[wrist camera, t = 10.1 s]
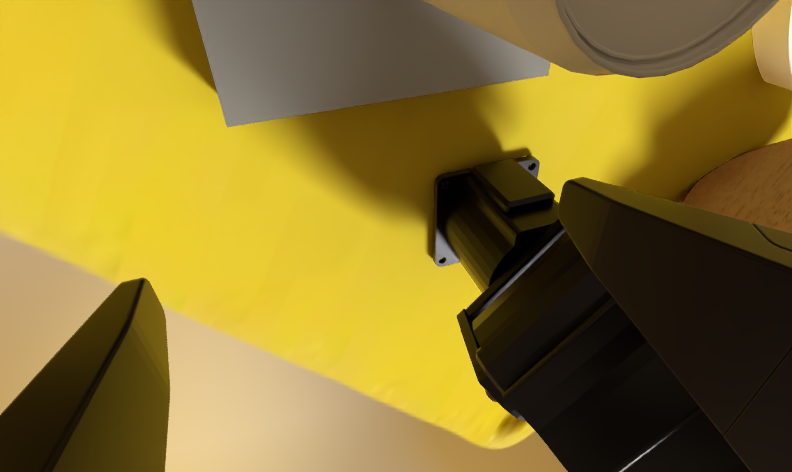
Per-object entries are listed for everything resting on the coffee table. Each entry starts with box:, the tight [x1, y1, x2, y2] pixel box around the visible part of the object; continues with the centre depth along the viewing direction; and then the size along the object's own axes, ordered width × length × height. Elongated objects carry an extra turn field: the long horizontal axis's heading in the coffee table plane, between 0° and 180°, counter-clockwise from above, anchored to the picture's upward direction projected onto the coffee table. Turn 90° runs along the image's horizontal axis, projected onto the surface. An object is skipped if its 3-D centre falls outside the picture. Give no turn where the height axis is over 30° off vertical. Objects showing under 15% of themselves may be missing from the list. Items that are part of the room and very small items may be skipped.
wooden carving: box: [682, 139, 792, 233], centre depth 30 cm, size 16×5×10 cm, turn 121°
